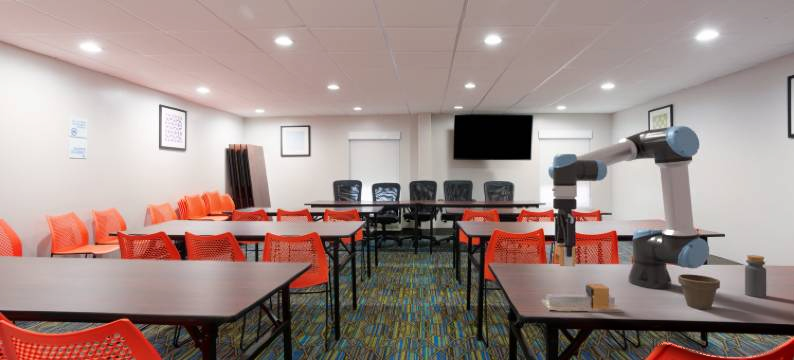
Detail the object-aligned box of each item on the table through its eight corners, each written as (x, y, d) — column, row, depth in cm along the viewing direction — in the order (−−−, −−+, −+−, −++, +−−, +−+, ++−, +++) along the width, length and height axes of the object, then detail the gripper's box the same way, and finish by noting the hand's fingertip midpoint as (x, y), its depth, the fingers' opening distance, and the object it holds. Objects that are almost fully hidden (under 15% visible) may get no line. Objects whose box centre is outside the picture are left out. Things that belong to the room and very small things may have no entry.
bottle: (760, 293, 142) (760, 255, 142) (770, 298, 137) (770, 258, 137) (741, 292, 144) (741, 254, 144) (750, 297, 139) (750, 257, 139)
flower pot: (686, 298, 138) (685, 271, 138) (725, 307, 128) (725, 278, 128) (672, 304, 131) (672, 276, 131) (712, 314, 122) (712, 284, 122)
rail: (608, 303, 134) (608, 282, 134) (622, 312, 125) (622, 290, 125) (540, 302, 135) (540, 281, 135) (549, 311, 126) (549, 289, 126)
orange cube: (570, 262, 133) (570, 244, 133) (577, 266, 128) (577, 247, 128) (554, 262, 134) (554, 244, 134) (560, 266, 128) (560, 247, 128)
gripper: (545, 196, 140) (545, 257, 140) (563, 199, 122) (563, 270, 122) (565, 196, 140) (565, 258, 140) (587, 199, 121) (587, 270, 121)
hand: (564, 263), depth 131 cm, fingers closed on orange cube, 6 cm apart
